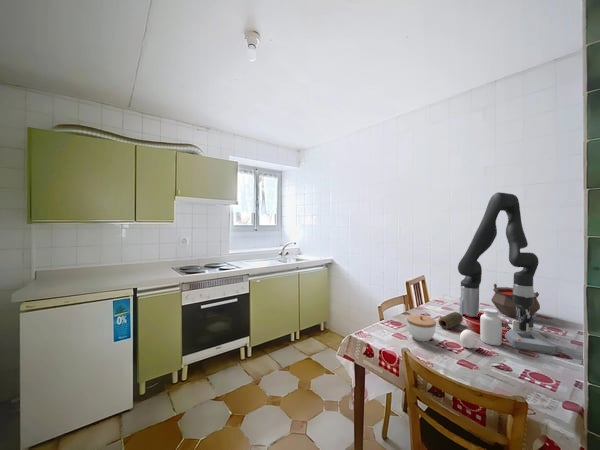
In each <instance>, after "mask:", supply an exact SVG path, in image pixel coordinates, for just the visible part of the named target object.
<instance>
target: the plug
mask: <svg viewBox="0 0 600 450" xmlns="http://www.w3.org/2000/svg"><path fill="white" fill-rule="evenodd" d="M515 321H518V319H517V316H516V317H515ZM532 328H534V317H533V316H532V319H531V321H530V323H529V326H528V330H530V331H532Z"/></svg>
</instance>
